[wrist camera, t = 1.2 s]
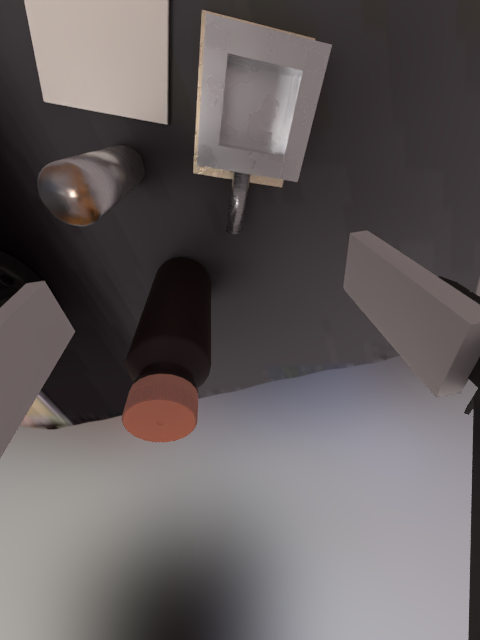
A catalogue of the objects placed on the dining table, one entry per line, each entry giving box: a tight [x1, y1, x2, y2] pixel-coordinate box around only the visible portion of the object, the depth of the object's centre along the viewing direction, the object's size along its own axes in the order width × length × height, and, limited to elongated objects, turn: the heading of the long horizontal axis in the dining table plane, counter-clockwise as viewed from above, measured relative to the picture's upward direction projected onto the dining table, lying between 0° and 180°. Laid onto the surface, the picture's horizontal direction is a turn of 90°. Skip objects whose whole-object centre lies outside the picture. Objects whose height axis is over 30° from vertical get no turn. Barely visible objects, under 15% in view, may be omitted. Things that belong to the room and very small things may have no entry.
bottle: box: [122, 258, 211, 442], centre depth 27 cm, size 7×7×20 cm
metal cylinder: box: [37, 145, 145, 226], centre depth 22 cm, size 4×4×13 cm
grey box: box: [193, 10, 332, 234], centre depth 24 cm, size 9×16×8 cm, turn 171°
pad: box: [24, 0, 169, 125], centre depth 21 cm, size 10×10×1 cm
